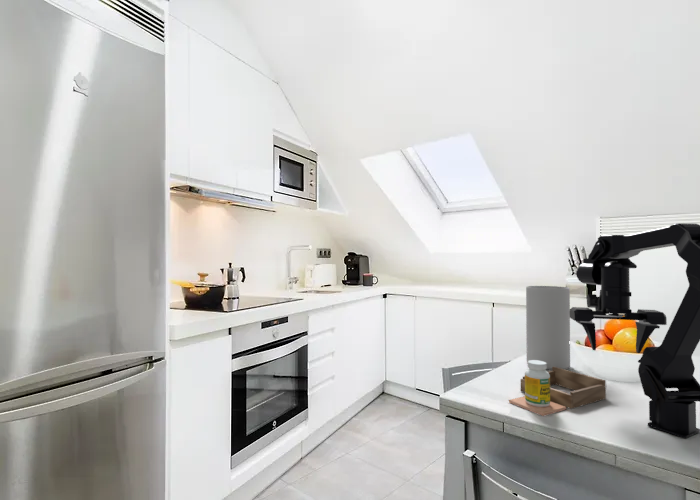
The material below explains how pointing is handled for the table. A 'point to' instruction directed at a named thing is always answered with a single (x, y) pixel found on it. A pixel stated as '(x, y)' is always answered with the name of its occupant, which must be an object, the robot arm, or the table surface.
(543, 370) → the supplement bottle
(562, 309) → the cylinder vase
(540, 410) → the terracotta tile
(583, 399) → the brown wooden tray
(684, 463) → the table surface
